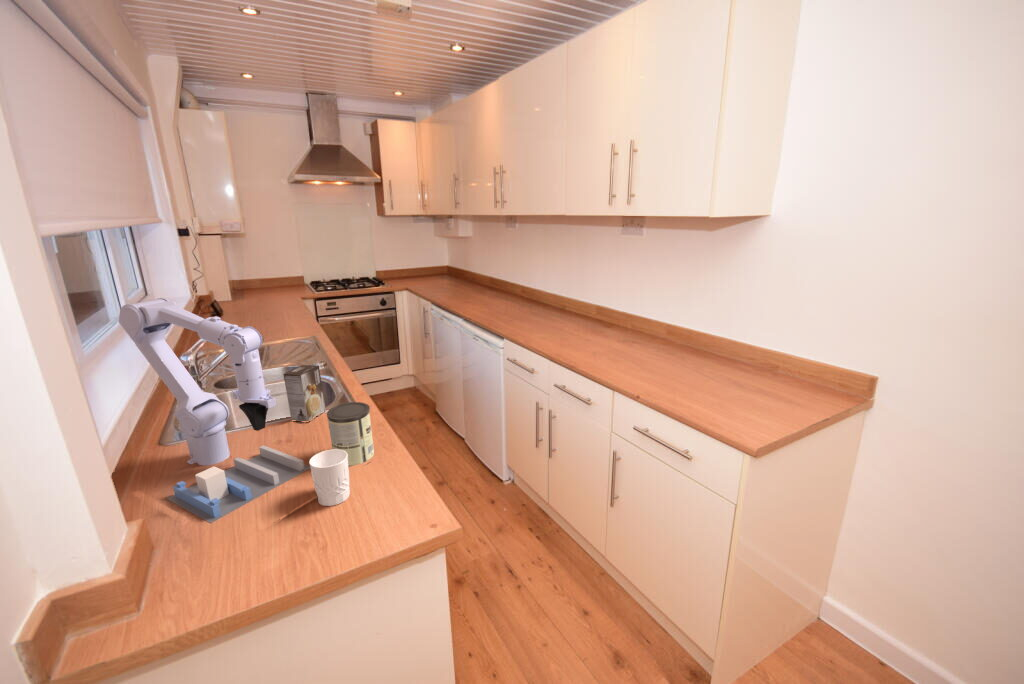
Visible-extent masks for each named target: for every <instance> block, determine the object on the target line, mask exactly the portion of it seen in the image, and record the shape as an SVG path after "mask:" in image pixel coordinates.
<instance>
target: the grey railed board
mask: <svg viewBox="0 0 1024 684" xmlns="http://www.w3.org/2000/svg"><path fill="white" fill-rule="evenodd" d="M258 448H259V453H260V454H258V455H256V456H253V457H252V458H249V459H244V458H241V457H239V456H238V457H234V458H233V464H234V466H232V467H230V468H228V469H225V470H224V472H225V477H226V482H227V486H228V491H229V494H228V495H226V496H224V497H223V498H221V499H217V498H214V499H212V500H209V499H207V498H205V497H203V496H201V495H200V494H199V489H198V485H197V483H195V484H194V485H192V486H190V487H186V486H187V482H186V481H183V480H181V481H179V482H177V483H175V485H173V486H172V489H173V493H174V494H173V495H170V496H169V497H166V500H168V501H170V502H172V503H174V505H177V506H178V507H180V508H183V509H184V510H186V511H188V512H189V513H192V514H193V515H195V516H197V517H198V518H200V519H202V520H204V521H206V522H207V523H209V524H212V523H214V522H217V521H218V520H219V519H221V518H223V517H226V516H227V515H229V514H231V513H232V512H234V511H236V510H237V509H239V508H242V507H243V506H245V505H246V504H249V503H250V502H252V501H254V500H255V499H258V498H260V497H261V496H263V495H265V494H266V493H268V492H271V491H272V490H274V489H276V488H277V487H279V486H281V485H282V484H284V483H286V482H288V481H290V480H292V479H294V478H295V477H297V476H299V475H301V474H303V473H305V472H306V471H308V470H311V469H310V465H307V464H305V463H304V459H302V458H299V457H296V456H293V455H291V454H287V453H285V452H283V451H280V450H277V449H274V448H272V447H269V446H266V445H262V446H259V447H258Z"/></svg>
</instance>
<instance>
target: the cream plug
mask: <svg viewBox="0 0 1024 684" xmlns="http://www.w3.org/2000/svg"><path fill="white" fill-rule="evenodd" d="M224 471H225V470H223V469H221V468H219V467H216V466H211V467H209V468H206V469H205V470H203V471H200V472H198V473H196V474H195V475H194V476H195V480H196V484H197V485H198V489H199V494H200V495H201V496H203V497H205V498H207V499H209V500H212V499H214V498H217V499H221V498H223V497H224V496H226V495H228V494H229V491H228V486H227V482H226V477H225V472H224Z"/></svg>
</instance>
